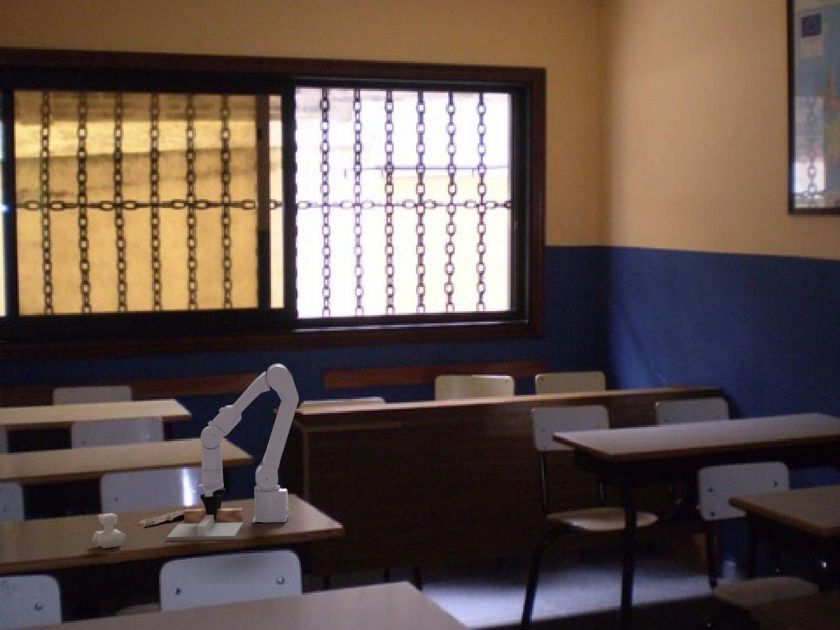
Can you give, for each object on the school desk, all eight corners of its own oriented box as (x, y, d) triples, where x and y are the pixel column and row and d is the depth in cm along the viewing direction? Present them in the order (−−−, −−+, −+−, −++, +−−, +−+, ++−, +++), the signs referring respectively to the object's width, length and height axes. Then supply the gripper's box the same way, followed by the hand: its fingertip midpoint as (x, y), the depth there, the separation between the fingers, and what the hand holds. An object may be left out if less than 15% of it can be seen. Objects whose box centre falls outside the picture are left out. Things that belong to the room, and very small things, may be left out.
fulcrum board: (243, 525, 355) (242, 513, 354) (234, 539, 339) (234, 526, 338) (178, 527, 355) (178, 514, 354) (166, 540, 339) (166, 527, 339)
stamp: (95, 551, 329) (94, 519, 328) (88, 546, 335) (87, 514, 334) (130, 546, 333) (128, 514, 333) (122, 541, 339) (121, 510, 338)
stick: (243, 522, 361) (242, 508, 361) (241, 524, 358) (241, 510, 358) (186, 523, 361) (186, 509, 361) (184, 525, 358) (184, 511, 358)
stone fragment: (211, 516, 373) (185, 513, 378) (211, 506, 373) (185, 503, 378) (150, 533, 351) (124, 529, 356) (150, 523, 351) (123, 519, 356)
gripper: (202, 464, 366) (204, 511, 367) (193, 474, 352) (194, 523, 352) (227, 464, 366) (228, 511, 367) (218, 473, 351) (220, 522, 352)
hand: (213, 517), depth 360 cm, fingers open, 5 cm apart
